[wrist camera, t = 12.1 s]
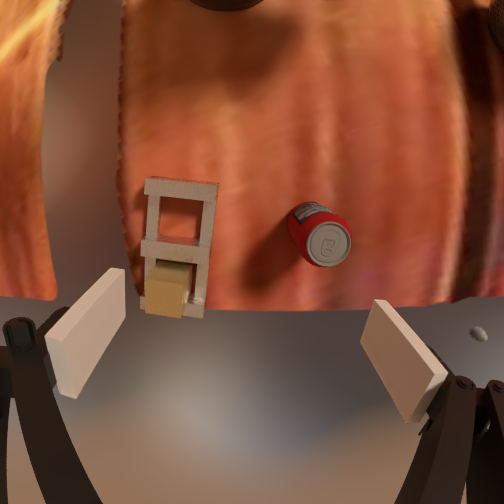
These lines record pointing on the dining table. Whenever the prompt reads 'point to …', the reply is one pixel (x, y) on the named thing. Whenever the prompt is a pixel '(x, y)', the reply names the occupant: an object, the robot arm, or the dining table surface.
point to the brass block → (168, 288)
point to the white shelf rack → (177, 246)
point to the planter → (497, 22)
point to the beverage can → (319, 234)
